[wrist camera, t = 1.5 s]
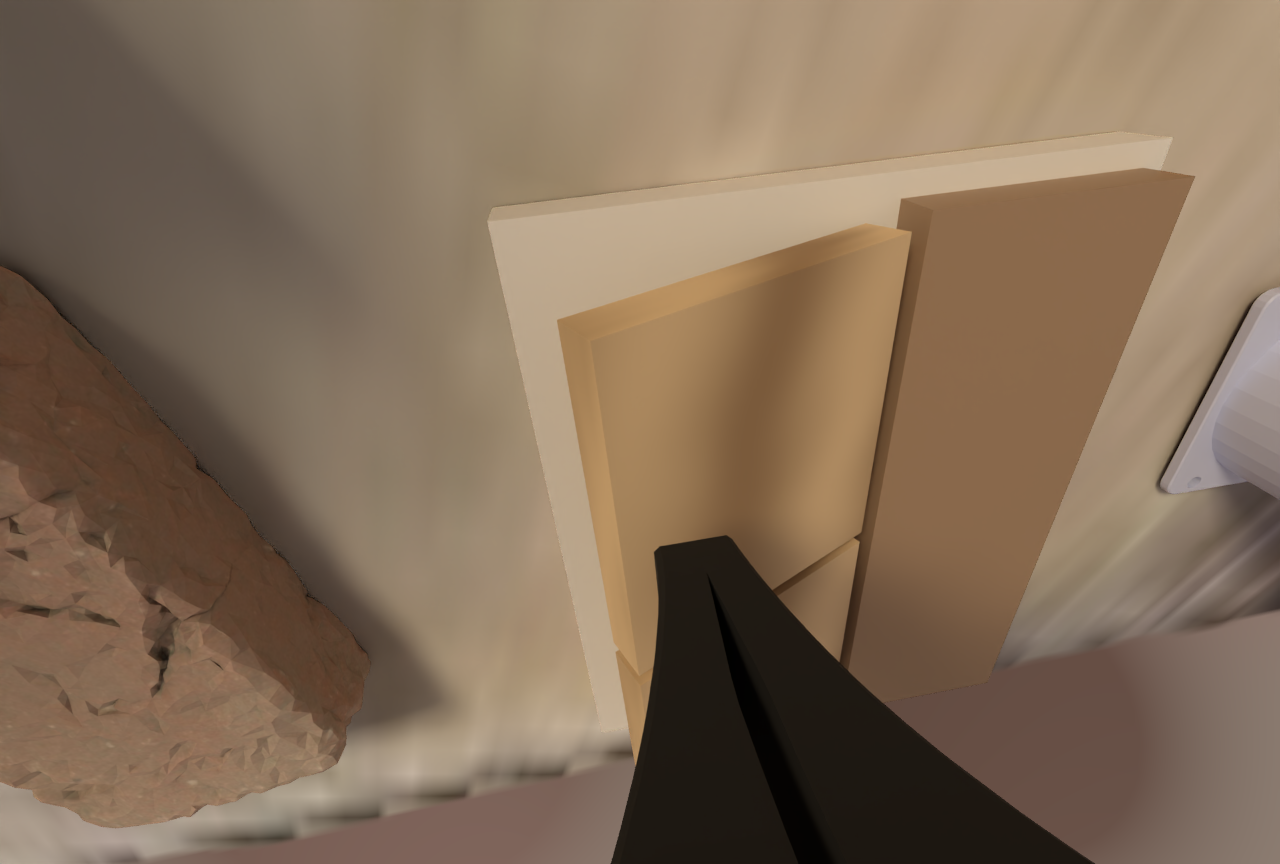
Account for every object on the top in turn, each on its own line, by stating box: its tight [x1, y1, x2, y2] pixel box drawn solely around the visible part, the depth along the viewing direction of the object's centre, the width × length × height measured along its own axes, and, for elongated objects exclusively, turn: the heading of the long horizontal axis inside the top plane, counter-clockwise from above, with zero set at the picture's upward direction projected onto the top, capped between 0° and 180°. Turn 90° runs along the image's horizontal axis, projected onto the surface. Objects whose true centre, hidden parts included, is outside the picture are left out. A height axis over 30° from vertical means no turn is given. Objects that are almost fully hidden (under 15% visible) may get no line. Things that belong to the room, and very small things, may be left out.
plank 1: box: [557, 223, 912, 676], centre depth 14 cm, size 8×9×1 cm
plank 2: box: [615, 538, 860, 766], centre depth 19 cm, size 8×9×1 cm
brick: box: [0, 266, 371, 828], centre depth 15 cm, size 17×8×5 cm, turn 15°
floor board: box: [487, 132, 1195, 733], centre depth 18 cm, size 16×20×3 cm
